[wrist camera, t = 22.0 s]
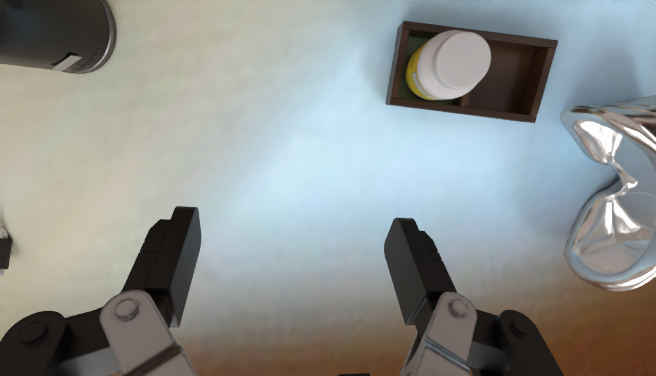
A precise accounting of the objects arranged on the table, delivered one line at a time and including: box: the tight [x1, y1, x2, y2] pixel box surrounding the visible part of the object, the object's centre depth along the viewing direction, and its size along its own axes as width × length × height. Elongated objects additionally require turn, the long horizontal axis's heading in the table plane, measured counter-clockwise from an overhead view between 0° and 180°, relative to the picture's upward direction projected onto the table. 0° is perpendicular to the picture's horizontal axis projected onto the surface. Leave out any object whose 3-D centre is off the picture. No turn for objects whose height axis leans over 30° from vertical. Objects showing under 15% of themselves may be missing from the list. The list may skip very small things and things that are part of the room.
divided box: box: [386, 21, 558, 123], centre depth 32 cm, size 8×14×3 cm, turn 83°
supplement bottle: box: [404, 30, 491, 100], centre depth 28 cm, size 5×5×10 cm
